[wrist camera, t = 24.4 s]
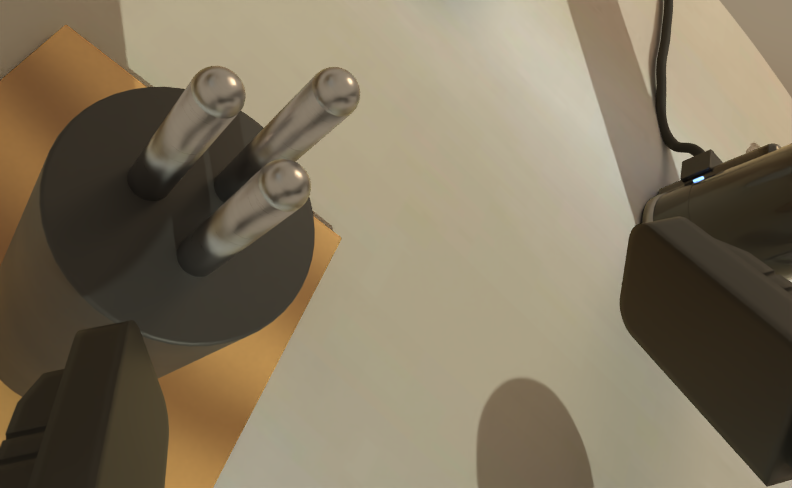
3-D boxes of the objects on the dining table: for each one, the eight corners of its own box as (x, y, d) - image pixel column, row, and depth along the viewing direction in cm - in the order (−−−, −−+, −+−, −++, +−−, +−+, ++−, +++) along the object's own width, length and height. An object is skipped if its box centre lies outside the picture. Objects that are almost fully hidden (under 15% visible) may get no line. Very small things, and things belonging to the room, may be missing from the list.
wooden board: (62, 31, 26) (65, 23, 26) (336, 241, 31) (342, 237, 31) (-477, 498, 15) (-489, 498, 14) (92, 709, 20) (96, 714, 19)
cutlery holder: (56, 214, 23) (241, -125, 11) (192, 303, 25) (482, 108, 13) (-66, 350, 20) (-8, 88, 7) (103, 441, 22) (379, 360, 9)
